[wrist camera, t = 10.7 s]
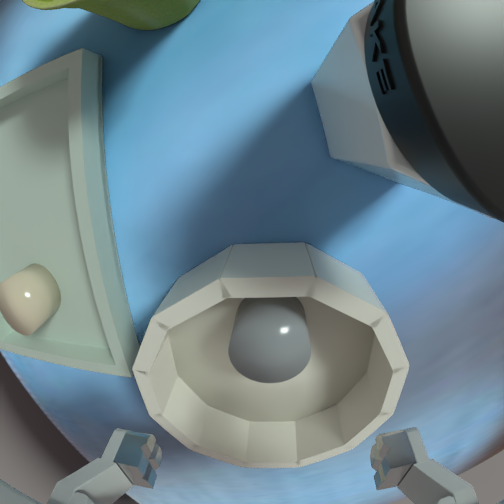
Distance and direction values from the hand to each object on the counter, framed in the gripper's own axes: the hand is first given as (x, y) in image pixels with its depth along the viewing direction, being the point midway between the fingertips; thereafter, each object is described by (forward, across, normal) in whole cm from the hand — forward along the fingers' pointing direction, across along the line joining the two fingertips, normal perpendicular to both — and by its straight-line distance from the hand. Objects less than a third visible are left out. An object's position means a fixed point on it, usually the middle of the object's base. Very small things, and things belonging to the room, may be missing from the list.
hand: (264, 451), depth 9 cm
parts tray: (+11, +18, -6) cm, 22 cm away
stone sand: (+11, +18, -1) cm, 21 cm away
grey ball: (+10, 0, +1) cm, 10 cm away
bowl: (+11, 0, +4) cm, 12 cm away
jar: (+12, -7, -12) cm, 18 cm away
